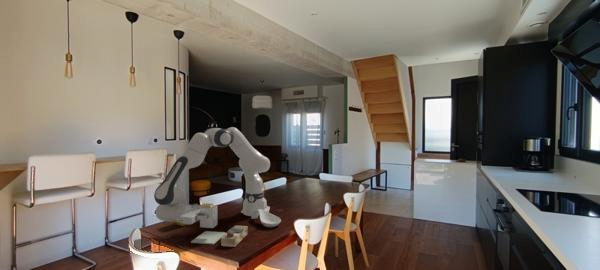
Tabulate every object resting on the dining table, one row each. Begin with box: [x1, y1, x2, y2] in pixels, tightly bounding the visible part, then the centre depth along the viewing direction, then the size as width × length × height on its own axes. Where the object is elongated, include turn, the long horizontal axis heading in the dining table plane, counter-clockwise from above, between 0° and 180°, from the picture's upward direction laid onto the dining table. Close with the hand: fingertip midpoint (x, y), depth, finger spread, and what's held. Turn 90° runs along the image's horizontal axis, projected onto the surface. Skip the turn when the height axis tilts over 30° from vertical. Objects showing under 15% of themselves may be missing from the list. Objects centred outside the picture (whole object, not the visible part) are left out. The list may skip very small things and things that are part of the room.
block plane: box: [220, 225, 249, 248], centre depth 140 cm, size 17×7×6 cm, turn 170°
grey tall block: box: [199, 202, 218, 229], centre depth 142 cm, size 5×7×11 cm
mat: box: [190, 230, 227, 245], centre depth 142 cm, size 14×12×1 cm
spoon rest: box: [250, 209, 282, 228], centre depth 165 cm, size 24×12×7 cm, turn 43°
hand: (210, 215), depth 142 cm, fingers closed on grey tall block, 5 cm apart
